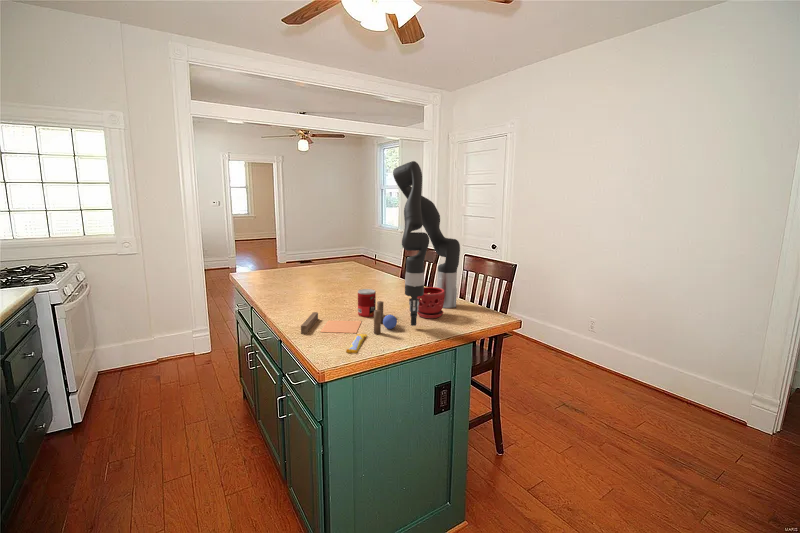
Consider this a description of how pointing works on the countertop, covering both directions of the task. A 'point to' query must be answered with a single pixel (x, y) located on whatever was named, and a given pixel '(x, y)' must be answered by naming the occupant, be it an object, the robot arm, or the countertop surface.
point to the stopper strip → (309, 323)
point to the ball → (389, 321)
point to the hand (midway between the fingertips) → (413, 325)
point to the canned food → (366, 302)
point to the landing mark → (341, 326)
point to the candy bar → (356, 343)
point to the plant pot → (431, 302)
